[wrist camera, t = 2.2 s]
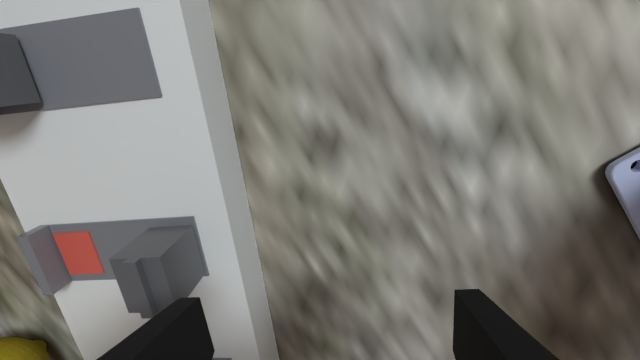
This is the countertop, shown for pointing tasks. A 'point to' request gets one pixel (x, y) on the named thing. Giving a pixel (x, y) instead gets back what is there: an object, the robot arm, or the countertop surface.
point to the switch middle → (158, 269)
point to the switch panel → (129, 163)
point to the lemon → (22, 349)
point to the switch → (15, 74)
